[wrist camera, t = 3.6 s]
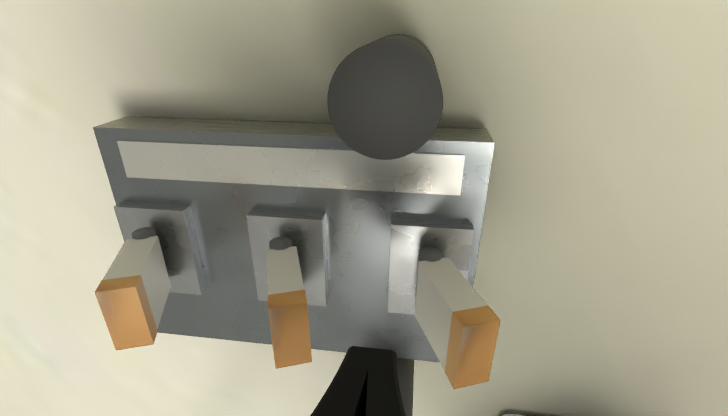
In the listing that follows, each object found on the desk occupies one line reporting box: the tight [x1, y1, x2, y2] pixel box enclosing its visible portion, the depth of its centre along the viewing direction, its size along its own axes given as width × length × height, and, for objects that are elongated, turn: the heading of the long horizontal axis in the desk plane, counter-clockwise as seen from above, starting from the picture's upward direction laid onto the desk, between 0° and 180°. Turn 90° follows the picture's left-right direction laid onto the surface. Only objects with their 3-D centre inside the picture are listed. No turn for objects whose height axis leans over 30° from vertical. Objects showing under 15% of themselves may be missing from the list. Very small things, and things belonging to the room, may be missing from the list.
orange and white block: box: [95, 227, 171, 350], centre depth 16 cm, size 1×3×4 cm, turn 179°
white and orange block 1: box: [266, 237, 312, 369], centre depth 15 cm, size 1×3×4 cm, turn 179°
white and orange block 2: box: [415, 247, 500, 389], centre depth 14 cm, size 1×3×4 cm, turn 179°
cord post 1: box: [327, 34, 443, 160], centre depth 13 cm, size 3×3×6 cm
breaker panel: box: [93, 117, 495, 362], centre depth 18 cm, size 16×11×3 cm
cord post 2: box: [396, 358, 414, 416], centre depth 19 cm, size 3×3×6 cm
